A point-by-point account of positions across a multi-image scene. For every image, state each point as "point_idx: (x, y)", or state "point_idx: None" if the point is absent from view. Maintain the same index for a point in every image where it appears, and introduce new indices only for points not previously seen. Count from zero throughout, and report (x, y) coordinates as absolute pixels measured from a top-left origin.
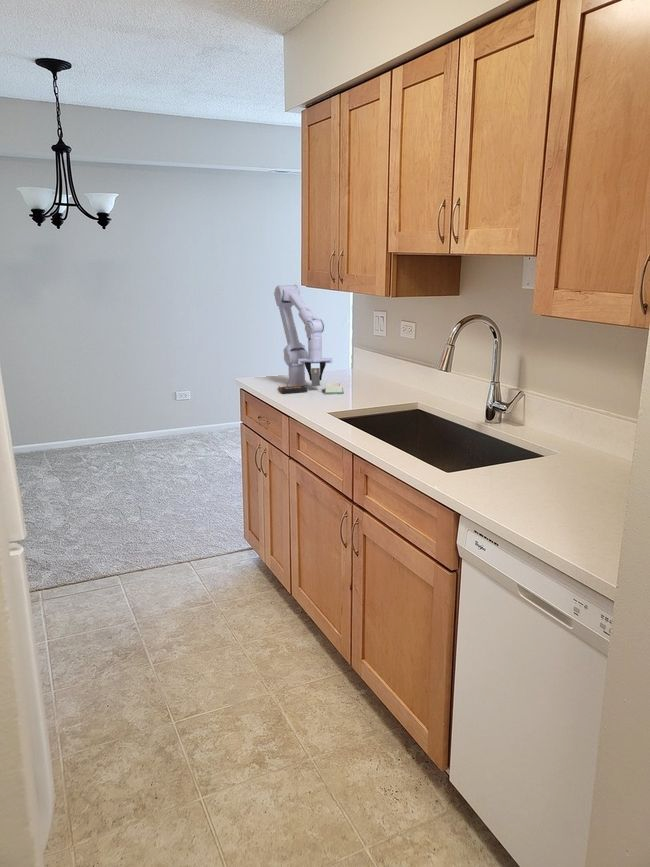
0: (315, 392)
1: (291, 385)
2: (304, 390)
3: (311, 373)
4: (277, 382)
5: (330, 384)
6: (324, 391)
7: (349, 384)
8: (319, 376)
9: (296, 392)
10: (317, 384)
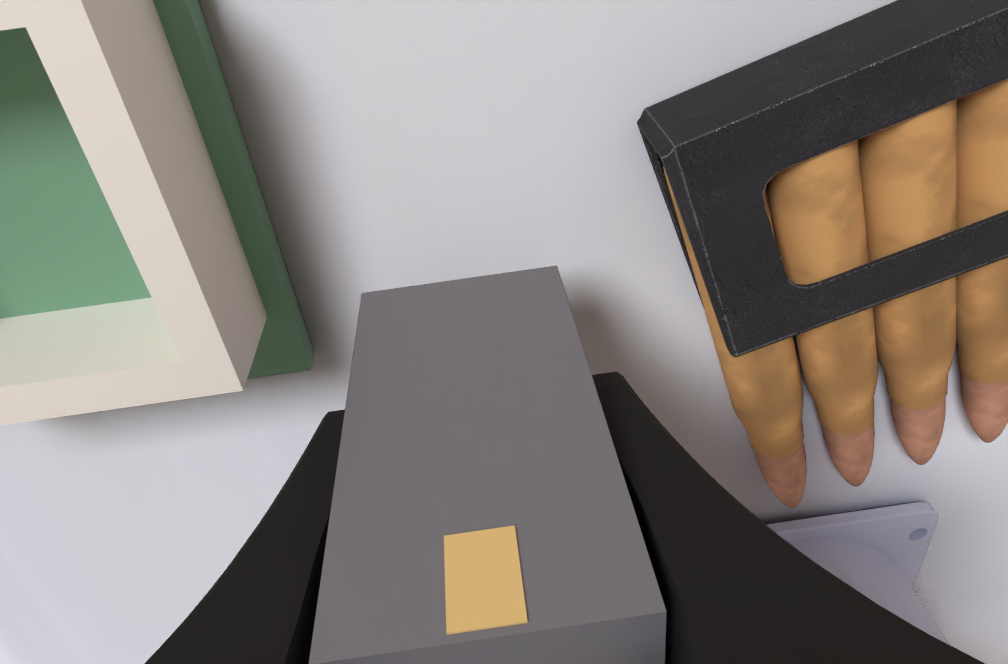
0: (442, 79)
1: (886, 514)
2: (709, 97)
3: (624, 490)
4: (1000, 659)
5: (107, 358)
6: (193, 29)
7: (18, 658)
8: (345, 452)
9: (891, 6)
10: (419, 304)
